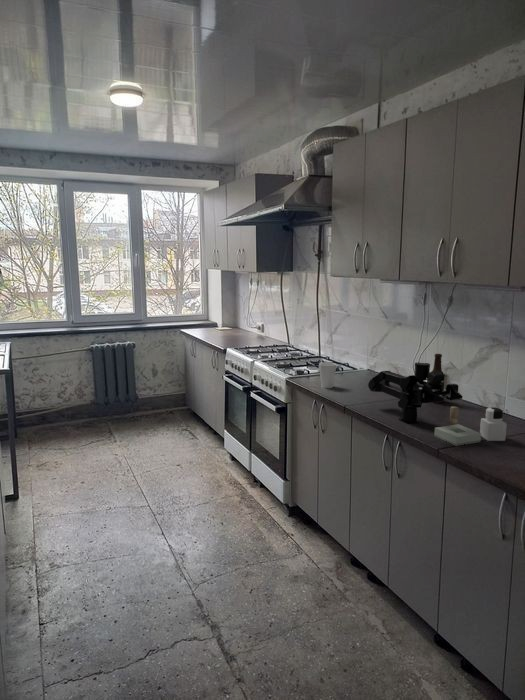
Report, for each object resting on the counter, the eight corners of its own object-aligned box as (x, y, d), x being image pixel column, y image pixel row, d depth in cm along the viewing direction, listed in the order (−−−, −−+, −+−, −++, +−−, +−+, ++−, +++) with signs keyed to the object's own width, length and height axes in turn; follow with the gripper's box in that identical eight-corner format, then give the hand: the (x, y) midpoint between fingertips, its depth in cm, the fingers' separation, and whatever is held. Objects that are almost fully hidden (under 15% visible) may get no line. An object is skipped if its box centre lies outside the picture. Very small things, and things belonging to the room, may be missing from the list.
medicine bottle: (496, 434, 206) (499, 406, 204) (505, 441, 199) (508, 411, 197) (479, 435, 205) (481, 406, 203) (487, 441, 198) (490, 411, 196)
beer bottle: (424, 401, 255) (427, 354, 251) (431, 398, 261) (434, 352, 257) (439, 404, 250) (442, 356, 246) (446, 401, 256) (449, 354, 252)
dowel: (447, 427, 214) (448, 406, 213) (453, 426, 216) (454, 406, 214) (452, 429, 212) (454, 409, 210) (459, 429, 213) (460, 408, 211)
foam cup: (331, 384, 290) (331, 361, 288) (338, 388, 282) (339, 364, 279) (315, 385, 287) (316, 362, 285) (322, 389, 279) (323, 366, 276)
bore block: (434, 436, 204) (434, 427, 203) (458, 432, 208) (458, 424, 208) (455, 445, 193) (456, 437, 192) (480, 442, 197) (481, 433, 197)
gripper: (408, 371, 207) (434, 380, 192) (445, 368, 214) (473, 376, 199) (406, 398, 209) (432, 408, 194) (443, 394, 216) (470, 403, 201)
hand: (452, 398), depth 197 cm, fingers open, 9 cm apart
